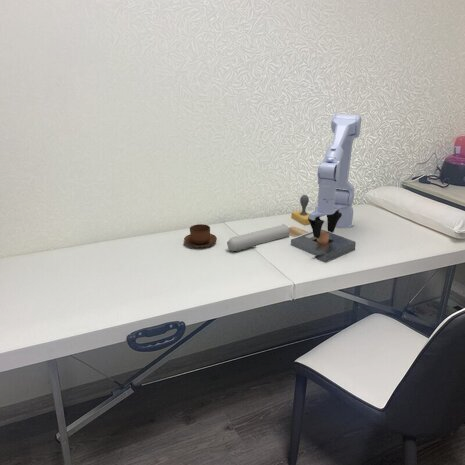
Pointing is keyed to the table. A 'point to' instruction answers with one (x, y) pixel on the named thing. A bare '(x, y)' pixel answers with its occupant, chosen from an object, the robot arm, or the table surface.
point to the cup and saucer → (200, 236)
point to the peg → (323, 238)
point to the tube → (258, 237)
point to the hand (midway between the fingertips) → (323, 234)
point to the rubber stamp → (302, 212)
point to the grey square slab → (324, 246)
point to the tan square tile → (296, 231)
